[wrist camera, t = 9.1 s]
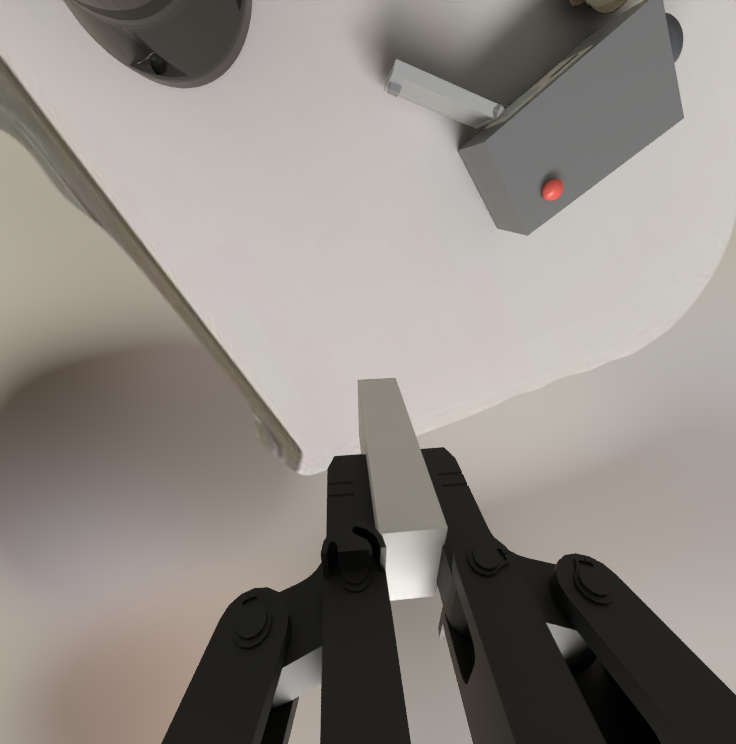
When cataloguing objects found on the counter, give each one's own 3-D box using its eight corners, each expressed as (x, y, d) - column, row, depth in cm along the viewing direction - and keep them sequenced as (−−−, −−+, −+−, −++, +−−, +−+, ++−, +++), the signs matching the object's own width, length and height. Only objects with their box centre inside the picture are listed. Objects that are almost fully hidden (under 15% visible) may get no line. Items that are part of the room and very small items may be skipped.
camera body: (456, 149, 35) (486, 139, 28) (616, 9, 31) (696, -42, 24) (497, 228, 39) (531, 236, 33) (642, 116, 35) (714, 98, 28)
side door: (477, 135, 34) (498, 127, 29) (382, 96, 31) (390, 81, 27) (483, 117, 33) (506, 107, 29) (387, 76, 31) (396, 58, 26)
